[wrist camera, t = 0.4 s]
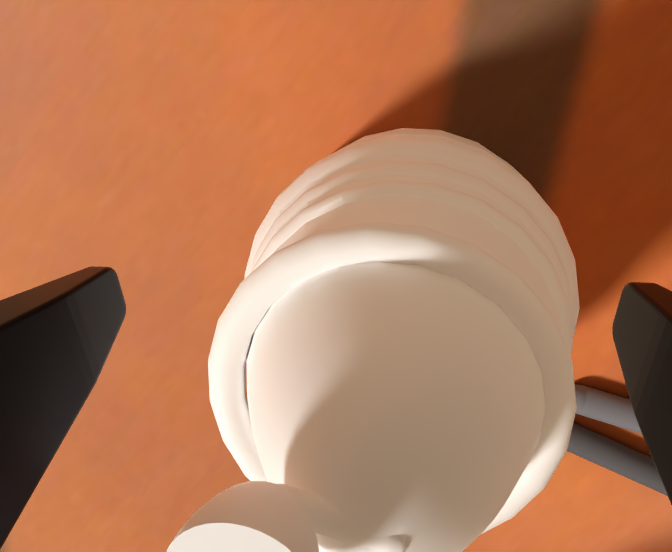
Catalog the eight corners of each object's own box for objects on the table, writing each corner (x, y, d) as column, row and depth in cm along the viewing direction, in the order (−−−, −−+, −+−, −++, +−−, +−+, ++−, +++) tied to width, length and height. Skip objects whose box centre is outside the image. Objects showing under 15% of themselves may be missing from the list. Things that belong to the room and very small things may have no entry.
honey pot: (264, 352, 28) (8, 741, 11) (298, 103, 23) (-48, 124, 7) (505, 411, 26) (629, 957, 10) (592, 158, 22) (1101, 366, 5)
